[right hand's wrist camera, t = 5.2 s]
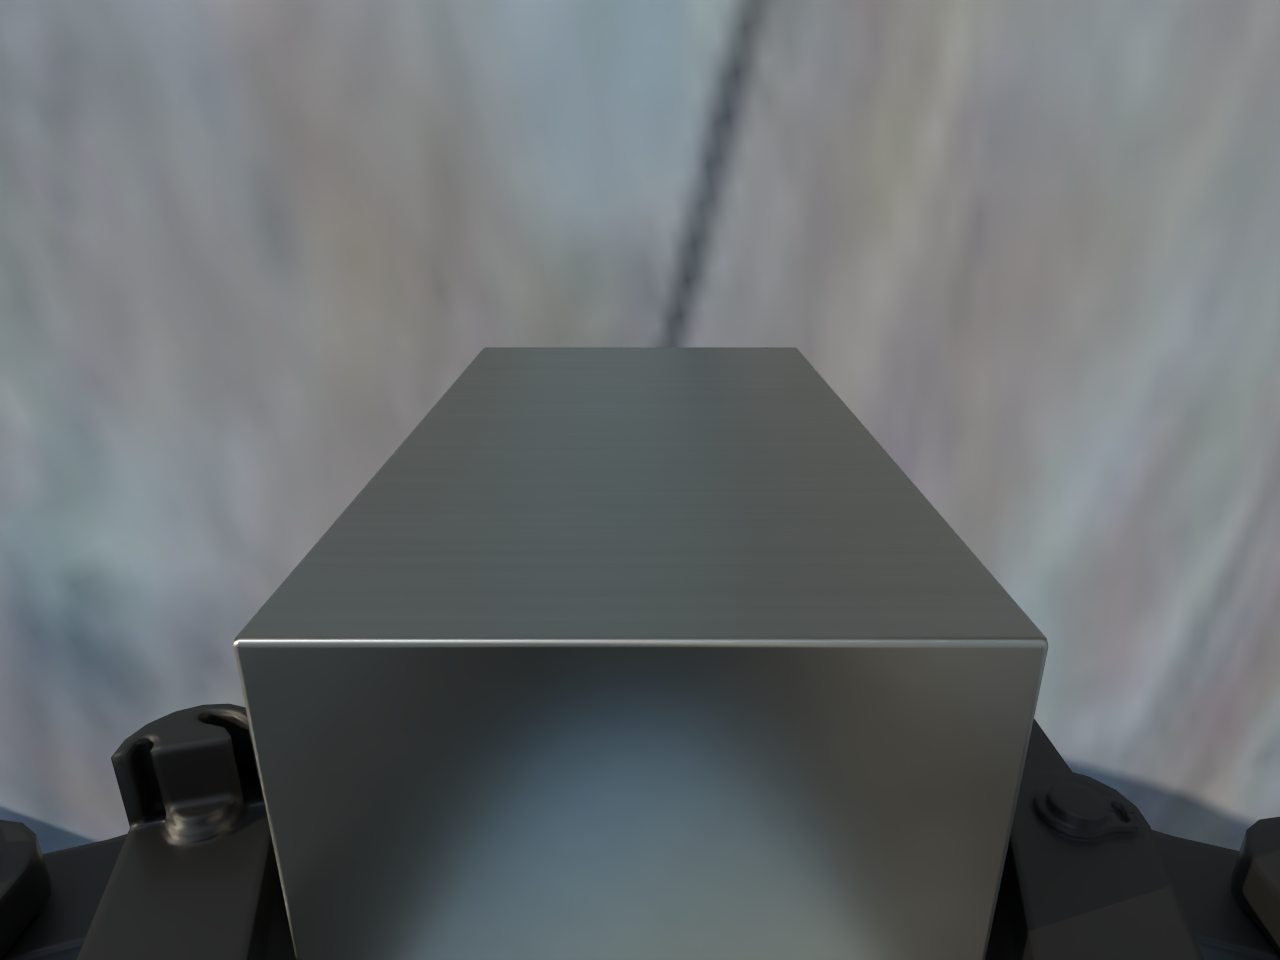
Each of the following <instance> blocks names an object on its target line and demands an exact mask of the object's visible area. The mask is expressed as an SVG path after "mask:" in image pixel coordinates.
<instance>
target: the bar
mask: <svg viewBox="0 0 1280 960" xmlns="http://www.w3.org/2000/svg"><path fill="white" fill-rule="evenodd" d="M1047 650H1048V642H1047V639H1046V637H1045V636H1044V635H1043V634H1042V633H1041V631H1040V630H1039V629H1038V628H1037V627H1036V626H1035V624H1034V623H1033V622H1032V621H1031V620H1030V619H1029V617H1028V616H1027V615H1026V614H1025V613H1024V612H1023V610H1022V609H1021V608H1020V607H1019V606H1018V605H1017V603H1016V602H1015V601H1014V600H1013V599H1012V598H1011V596H1010V595H1009V594H1008V593H1007V592H1006V591H1005V590H1004V588H1003V587H1002V586H1001V585H1000V584H999V583H998V581H997V580H996V579H995V578H994V577H993V576H992V574H991V573H990V572H989V571H988V570H987V569H986V567H985V566H984V565H983V564H982V563H981V562H980V560H979V559H978V558H977V557H976V556H975V555H974V553H973V552H972V551H971V550H970V549H969V548H968V547H967V545H966V544H965V543H964V542H963V541H962V540H961V538H960V537H959V536H958V535H957V534H956V533H955V531H954V530H953V529H952V528H951V527H950V526H949V524H948V523H947V522H946V521H945V520H944V519H943V517H942V516H941V515H940V514H939V513H938V512H937V510H936V509H935V508H934V507H933V506H932V505H931V504H930V502H929V501H928V500H927V499H926V498H925V497H924V495H923V494H922V493H921V492H920V491H919V490H918V488H917V487H916V486H915V485H914V484H913V483H912V481H911V480H910V479H909V478H908V477H907V476H906V474H905V473H904V472H903V471H902V470H901V469H900V467H899V466H898V465H897V464H896V463H895V462H894V461H893V459H892V458H891V457H890V456H889V455H888V454H887V452H886V451H885V450H884V449H883V448H882V447H881V445H880V444H879V443H878V442H877V441H876V440H875V438H874V437H873V436H872V435H871V434H870V433H869V431H868V430H867V429H866V428H865V427H864V426H863V424H862V423H861V422H860V421H859V420H858V419H857V417H856V416H855V415H854V414H853V413H852V412H851V411H850V409H849V408H848V407H847V406H846V405H845V404H844V402H843V401H842V400H841V399H840V398H839V397H838V395H837V394H836V393H835V392H834V391H833V390H832V388H831V387H830V386H829V385H828V384H827V383H826V381H825V380H824V379H823V378H822V377H821V376H820V374H819V373H818V372H817V371H816V370H815V369H814V368H813V366H812V365H811V364H810V363H809V362H808V361H807V359H806V358H805V357H804V356H803V355H802V354H801V352H800V351H799V350H798V349H797V348H484V349H483V350H482V351H481V352H480V353H479V354H478V356H477V357H476V358H475V359H474V360H473V361H472V363H471V364H470V365H469V366H468V367H467V368H466V370H465V371H464V372H463V373H462V374H461V375H460V377H459V378H458V379H457V380H456V381H455V382H454V384H453V385H452V386H451V387H450V388H449V389H448V391H447V392H446V393H445V394H444V395H443V396H442V398H441V399H440V400H439V401H438V402H437V403H436V405H435V406H434V407H433V408H432V409H431V410H430V412H429V413H428V414H427V415H426V416H425V417H424V419H423V420H422V421H421V422H420V423H419V424H418V426H417V427H416V428H415V429H414V430H413V431H412V433H411V434H410V435H409V436H408V437H407V438H406V440H405V441H404V442H403V443H402V444H401V445H400V447H399V448H398V449H397V450H396V451H395V452H394V454H393V455H392V456H391V457H390V458H389V459H388V461H387V462H386V463H385V464H384V465H383V466H382V468H381V469H380V470H379V471H378V472H377V473H376V475H375V476H374V477H373V478H372V479H371V480H370V482H369V483H368V484H367V485H366V486H365V487H364V489H363V490H362V491H361V492H360V493H359V494H358V496H357V497H356V498H355V499H354V500H353V501H352V503H351V504H350V505H349V506H348V507H347V508H346V510H345V511H344V512H343V513H342V514H341V515H340V517H339V518H338V519H337V520H336V521H335V522H334V524H333V525H332V526H331V527H330V528H329V529H328V531H327V532H326V533H325V534H324V535H323V536H322V538H321V539H320V540H319V541H318V542H317V543H316V545H315V546H314V547H313V548H312V549H311V550H310V552H309V553H308V554H307V555H306V556H305V557H304V559H303V560H302V561H301V562H300V563H299V564H298V566H297V567H296V568H295V569H294V570H293V571H292V573H291V574H290V575H289V576H288V577H287V578H286V580H285V581H284V582H283V583H282V584H281V585H280V587H279V588H278V589H277V590H276V591H275V592H274V593H273V595H272V596H271V597H270V598H269V599H268V600H267V602H266V603H265V604H264V605H263V606H262V607H261V609H260V610H259V611H258V612H257V613H256V614H255V616H254V617H253V618H252V619H251V620H250V621H249V623H248V624H247V625H246V626H245V627H244V628H243V630H242V631H241V632H240V633H239V634H238V635H237V637H236V638H235V641H234V652H235V657H236V662H237V667H238V672H239V677H240V682H241V687H242V692H243V697H244V702H245V707H246V712H247V717H248V722H249V727H250V732H251V737H252V742H253V746H254V751H255V756H256V761H257V766H258V771H259V776H260V781H261V786H262V791H263V796H264V801H265V806H266V811H267V816H268V821H269V826H270V831H271V836H272V841H273V846H274V851H275V856H276V861H277V866H278V871H279V876H280V881H281V886H282V891H283V896H284V901H285V906H286V911H287V916H288V921H289V926H290V931H291V936H292V941H293V945H294V950H295V955H296V960H985V957H986V952H987V947H988V942H989V937H990V932H991V928H992V923H993V918H994V913H995V908H996V903H997V898H998V893H999V888H1000V883H1001V878H1002V873H1003V868H1004V863H1005V858H1006V853H1007V848H1008V843H1009V838H1010V833H1011V829H1012V824H1013V819H1014V814H1015V809H1016V804H1017V799H1018V794H1019V789H1020V784H1021V779H1022V774H1023V769H1024V764H1025V759H1026V754H1027V749H1028V744H1029V739H1030V734H1031V730H1032V725H1033V720H1034V715H1035V710H1036V705H1037V700H1038V695H1039V690H1040V685H1041V680H1042V675H1043V670H1044V665H1045V660H1046V655H1047Z"/></svg>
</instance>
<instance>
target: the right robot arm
mask: <svg viewBox="0 0 1280 960" xmlns="http://www.w3.org/2000/svg"><path fill="white" fill-rule="evenodd" d="M111 760H112V763H113V767H114V771H115V774H116V778H117V781H118V785H119V789H120V792H121V796H122V800H123V803H124V807H125V810H126V814H127V818H128V821H129V825H130V829H129V832H128V834H125V835H122V836H119V837H115V838H112V839H109V840H104V841H100V842H96V843H91V844H87V845H82V846H78V847H74V848H69V849H65V850H60V851H56V852H52V853H47V854H43V855H42V853H41V850H40V847H39V844H38V840H37V837H36V834H35V833H34V832H33V831H31V830H30V829H29V828H28V827H27V826H25V825H24V824H23V823H18V822H11V821H4V820H0V960H296V955H295V950H294V945H293V941H292V936H291V931H290V926H289V921H288V916H287V911H286V906H285V901H284V896H283V891H282V886H281V881H280V876H279V871H278V866H277V861H276V856H275V851H274V846H273V841H272V836H271V831H270V826H269V821H268V816H267V811H266V806H265V801H264V796H263V791H262V786H261V781H260V776H259V771H258V766H257V761H256V756H255V751H254V746H253V742H252V737H251V732H250V727H249V722H248V717H247V712H246V708H245V707H241V706H237V705H232V704H212V705H201V706H197V707H193V708H189V709H184V710H180V711H176V712H173V713H171V714H169V715H167V716H164V717H162V718H160V719H158V720H155V721H153V722H151V723H149V724H147V725H145V726H144V727H143V728H141V729H140V730H138V731H137V732H135V733H134V734H133V735H131V736H130V737H128V738H127V739H126V740H125V741H124V742H123V743H122V744H121V746H120V747H119V748H118V749H117V751H116V752H115V753H114V754H113V756H112V757H111ZM985 960H1280V817H1275V818H1268V819H1261V820H1258V821H1257V822H1256V823H1255V824H1254V825H1252V826H1251V827H1250V828H1249V829H1248V830H1247V831H1246V834H1245V837H1244V840H1243V843H1242V846H1241V849H1240V851H1236V850H1231V849H1227V848H1222V847H1218V846H1214V845H1209V844H1205V843H1200V842H1196V841H1191V840H1187V839H1183V838H1178V837H1174V836H1170V835H1167V834H1164V833H1160V832H1157V831H1153V830H1151V828H1150V826H1149V824H1148V823H1147V821H1146V820H1145V818H1144V817H1143V815H1142V814H1141V812H1140V811H1139V810H1138V808H1137V807H1136V806H1135V805H1134V804H1132V803H1131V802H1130V801H1129V800H1127V799H1126V798H1125V797H1124V796H1122V795H1121V794H1120V793H1119V792H1117V791H1116V790H1115V789H1113V788H1111V787H1109V786H1107V785H1105V784H1103V783H1101V782H1099V781H1097V780H1095V779H1093V778H1091V777H1088V776H1084V775H1081V774H1077V773H1073V772H1072V771H1071V770H1070V768H1069V767H1068V765H1067V764H1066V763H1065V761H1064V760H1063V758H1062V757H1061V756H1060V754H1059V753H1058V751H1057V750H1056V749H1055V747H1054V746H1053V744H1052V743H1051V742H1050V740H1049V739H1048V737H1047V736H1046V735H1045V733H1044V732H1043V730H1042V729H1041V728H1040V726H1039V725H1038V723H1037V722H1036V720H1035V719H1034V720H1033V725H1032V730H1031V734H1030V739H1029V744H1028V749H1027V754H1026V759H1025V764H1024V769H1023V774H1022V779H1021V784H1020V789H1019V794H1018V799H1017V804H1016V809H1015V814H1014V819H1013V824H1012V829H1011V833H1010V838H1009V843H1008V848H1007V853H1006V858H1005V863H1004V868H1003V873H1002V878H1001V883H1000V888H999V893H998V898H997V903H996V908H995V913H994V918H993V923H992V928H991V932H990V937H989V942H988V947H987V952H986V957H985Z"/></svg>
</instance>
